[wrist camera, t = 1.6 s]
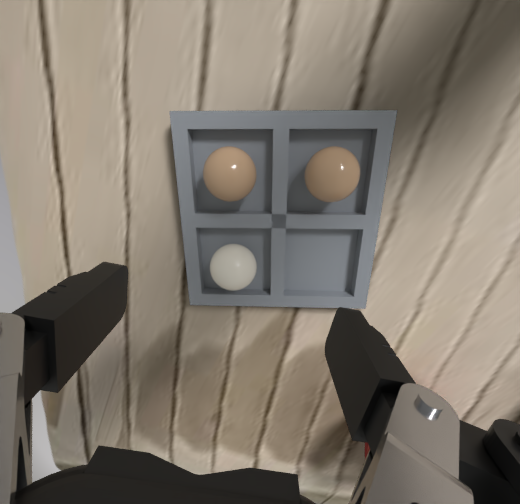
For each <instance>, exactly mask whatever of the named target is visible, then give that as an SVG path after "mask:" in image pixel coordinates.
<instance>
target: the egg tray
mask: <svg viewBox="0 0 520 504" xmlns="http://www.w3.org/2000/svg"><path fill="white" fill-rule="evenodd" d="M396 115H397V110H313V111H170V120H171V130H172V139H173V149H174V158H175V168H176V177H177V187H178V196H179V206H180V215H181V225H182V234H183V243H184V253H185V262H186V272H187V281H188V291H189V300H190V305H213V306H263V307H312V308H339V307H343V308H362V309H365V308H366V302H367V295H368V289H369V283H370V277H371V271H372V264H373V258H374V252H375V246H376V240H377V233H378V227H379V221H380V215H381V209H382V202H383V196H384V190H385V184H386V177H387V171H388V165H389V159H390V153H391V146H392V140H393V134H394V128H395V122H396ZM225 146H233V147H237V148H240V149H241V150H243V151H245V152H246V153H247V154H248V155H249V156H250V157H251V159H252V160H253V162H254V164H255V167H256V174H257V176H256V182H255V185H254V188H253V189H252V191H251V192H250V193H249V194H248V195H247V196H246V197H244V198H243V199H241V200H238V201H234V202H228V201H223V200H220V199H218V198H216V197H215V196H214V195H212V194H211V193H210V192H209V190H208V189H207V187H206V185H205V183H204V179H203V168H204V164H205V161H206V160H207V158H208V156H209V155H210V154H211V153H212V152H213V151H215V150H217V149H219V148H221V147H225ZM331 146H338V147H342V148H345V149H347V150H349V151H350V152H351V153H352V154H353V155H354V156H355V157H356V158H357V160H358V162H359V165H360V179H359V182H358V185H357V187H356V188H355V190H354V191H353V192H352V193H351V194H350V195H349V196H348V197H346V198H345V199H343V200H341V201H338V202H324V201H321V200H319V199H317V198H315V197H314V196H313V195H312V194H311V193H310V192H309V190H308V189H307V186H306V183H305V169H306V166H307V164H308V162H309V160H310V159H311V157H312V156H313V155H314V154H315V153H316V152H318V151H319V150H321V149H323V148H326V147H331ZM227 244H240V245H243V246H245V247H246V248H248V249H249V250H250V251H251V252H252V253H253V255H254V257H255V259H256V263H257V271H256V275H255V277H254V279H253V281H252V282H251V283H250V284H249V285H248V286H247V287H245V288H243V289H240V290H236V291H231V290H226V289H223V288H221V287H220V286H219V285H217V284H216V283H215V281H214V280H213V278H212V276H211V273H210V261H211V258H212V256H213V254H214V253H215V252H216V251H217V250H218V249H219V248H220V247H222V246H224V245H227Z"/></svg>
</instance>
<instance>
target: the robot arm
mask: <svg viewBox="0 0 520 504" xmlns="http://www.w3.org/2000/svg"><path fill="white" fill-rule="evenodd" d="M127 285H128V268H127V267H126V266H124V265H119V264H114V263H108V262H102V263H101V264H99V265H98V266H96V267H95V268H93V269H92V270H90V271H89V272H83V273H80V274H77V275H73V276H70V277H68V278H66V279H65V280H63V281H62V282H60V283H58V284H57V286H54V287H52V288H51V289H49V290H47V292H44V293H43V294H41V295H39V296H38V297H36V298H35V299H33V300H31V301H30V302H28V303H27V304H25V305H23V306H22V307H20V308H19V309H17V310H16V311H14V312H12V313H0V504H316V503H314V502H312V501H311V500H309V499H308V498H306V497H304V496H302V495H300V492H299V484H298V475H297V474H290V473H283V472H276V471H269V470H263V469H256V468H245V469H238V470H232V471H225V472H218V473H211V474H205V475H197V474H193V473H191V472H189V471H187V470H185V469H182V468H180V467H178V466H176V465H174V464H172V463H170V462H168V461H165V460H163V459H161V458H159V457H157V456H155V455H153V454H151V453H146V452H140V451H133V450H126V449H119V448H112V447H105V446H98V448H97V449H96V451H95V453H94V455H93V457H92V458H91V460H90V462H89V464H88V465H81V466H77V467H73V468H68V469H65V470H62V471H59V472H56V473H54V474H51V475H48V476H46V477H44V478H42V479H40V480H37V481H35V482H33V483H32V398H33V397H34V396H35V395H36V394H37V393H38V392H39V391H40V390H43V391H50V392H56V393H58V392H59V391H60V390H61V389H62V387H63V386H64V385H65V384H66V383H67V382H68V380H69V379H70V378H71V377H72V376H73V375H74V374H75V372H76V371H77V370H78V369H79V368H80V367H81V365H82V364H83V363H84V362H85V361H86V360H87V358H88V357H89V356H90V355H91V354H92V353H93V351H94V350H95V349H96V348H97V347H98V346H99V344H100V343H101V342H102V341H103V340H104V339H105V337H106V336H107V335H108V334H109V333H110V332H111V330H112V329H113V328H114V327H115V326H116V325H117V323H118V322H119V321H120V320H121V318H122V317H123V314H124V312H125V309H126V304H127ZM325 357H326V360H327V363H328V366H329V369H330V372H331V376H332V379H333V382H334V385H335V388H336V391H337V394H338V397H339V401H340V404H341V407H342V410H343V413H344V416H345V419H346V422H347V425H348V429H349V432H350V435H351V438H352V440H353V441H360V442H366V443H368V445H369V447H370V451H369V453H368V455H367V457H366V459H365V462H364V464H363V467H362V469H361V472H360V475H359V477H358V480H357V482H356V485H355V488H354V490H353V493H352V495H351V498H350V501H349V503H348V504H520V425H519V424H517V423H514V422H512V421H509V420H504V419H498V420H495V421H494V423H493V424H492V425H491V427H490V428H489V430H488V431H485V430H483V429H480V428H478V427H476V426H473V425H471V424H468V423H466V422H463V421H461V420H459V418H458V415H457V414H456V412H455V410H454V409H453V408H452V407H451V405H450V404H449V403H448V402H447V401H446V400H444V399H443V398H442V397H441V396H439V395H438V394H437V393H435V392H433V391H432V390H430V389H428V388H426V387H424V386H421V385H418V384H416V383H415V382H414V380H413V379H412V377H411V376H410V374H409V373H408V371H407V370H406V368H405V367H404V365H403V364H402V363H401V361H400V360H399V358H398V357H397V356H396V354H395V352H394V351H393V349H392V348H390V345H389V343H388V342H387V340H386V339H385V338H384V336H383V335H382V334H381V333H380V332H378V331H377V330H376V329H375V328H374V327H373V326H370V325H369V323H368V322H367V320H366V319H365V317H364V316H363V314H362V313H361V311H359V310H354V309H348V308H343V307H339V308H338V310H337V311H336V314H335V317H334V319H333V322H332V325H331V328H330V331H329V334H328V337H327V339H326V343H325Z"/></svg>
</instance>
